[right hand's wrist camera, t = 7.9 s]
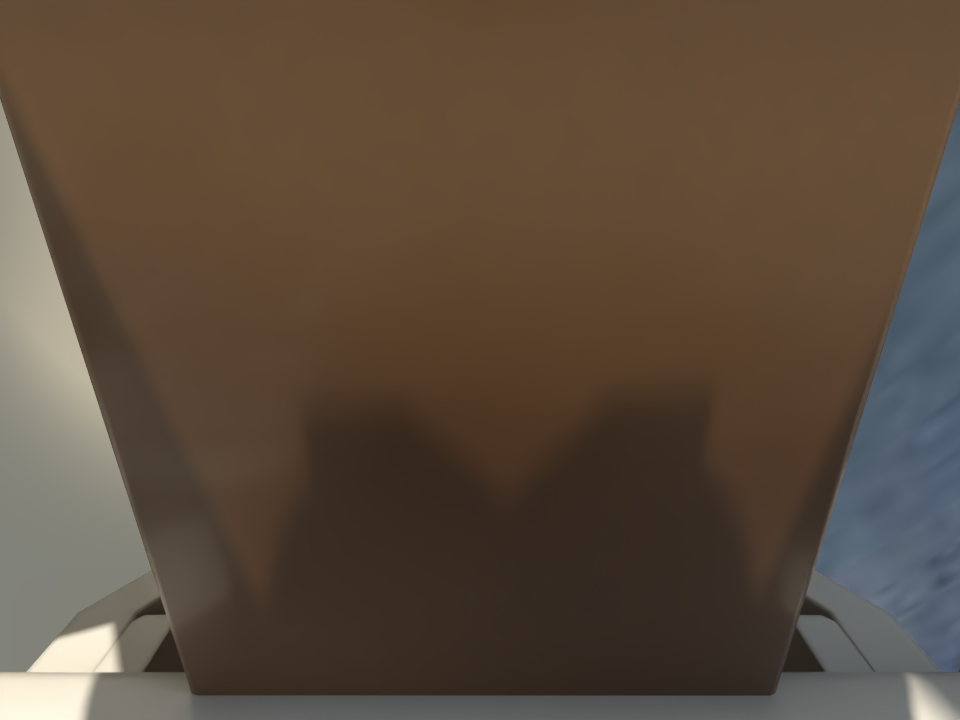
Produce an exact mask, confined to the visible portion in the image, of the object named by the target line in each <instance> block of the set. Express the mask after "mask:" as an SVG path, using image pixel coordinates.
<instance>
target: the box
mask: <svg viewBox="0 0 960 720" xmlns="http://www.w3.org/2000/svg"><path fill="white" fill-rule="evenodd" d="M0 99H1V102H2V106H3V109H4V112H5V115H6V118H7V121H8V124H9V127H10V130H11V133H12V137H13V140H14V143H15V146H16V149H17V152H18V155H19V158H20V162H21V165H22V168H23V171H24V174H25V177H26V180H27V183H28V186H29V190H30V193H31V196H32V199H33V202H34V205H35V208H36V211H37V214H38V218H39V221H40V224H41V227H42V230H43V233H44V236H45V239H46V242H47V246H48V249H49V252H50V255H51V258H52V261H53V264H54V267H55V270H56V274H57V277H58V280H59V283H60V286H61V289H62V292H63V295H64V298H65V302H66V305H67V308H68V311H69V314H70V317H71V320H72V323H73V326H74V329H75V333H76V336H77V339H78V342H79V345H80V348H81V351H82V354H83V357H84V361H85V363H86V367H87V370H88V373H89V376H90V379H91V382H92V385H93V389H94V391H95V395H96V398H97V401H98V404H99V407H100V410H101V413H102V417H103V420H104V423H105V426H106V429H107V432H108V435H109V438H110V441H111V444H112V448H113V451H114V454H115V457H116V460H117V463H118V466H119V469H120V472H121V476H122V479H123V482H124V485H125V488H126V491H127V494H128V497H129V500H130V504H131V507H132V510H133V513H134V516H135V519H136V522H137V525H138V528H139V531H140V535H141V538H142V541H143V544H144V547H145V550H146V553H147V556H148V559H149V563H150V566H151V569H152V572H153V575H154V578H155V581H156V584H157V588H158V591H159V594H160V597H161V600H162V603H163V606H164V609H165V612H166V615H167V619H168V622H169V625H170V628H171V631H172V634H173V637H174V640H175V643H176V647H177V650H178V653H179V656H180V659H181V662H182V665H183V668H184V671H185V675H186V678H187V681H188V684H189V687H190V690H191V693H193V694H195V695H404V696H770V695H772V694H775V692H776V689H777V686H778V683H779V679H780V676H781V673H782V670H783V667H784V663H785V660H786V657H787V654H788V651H789V647H790V644H791V641H792V638H793V634H794V631H795V628H796V625H797V622H798V618H799V615H800V612H801V609H802V606H803V602H804V599H805V596H806V593H807V590H808V586H809V583H810V580H811V577H812V573H813V570H814V567H815V564H816V561H817V557H818V554H819V551H820V548H821V545H822V541H823V538H824V535H825V532H826V529H827V525H828V522H829V519H830V516H831V512H832V509H833V506H834V503H835V500H836V496H837V493H838V490H839V487H840V484H841V480H842V477H843V474H844V471H845V468H846V464H847V461H848V458H849V455H850V451H851V448H852V445H853V442H854V439H855V435H856V432H857V429H858V426H859V423H860V419H861V416H862V413H863V410H864V407H865V403H866V400H867V397H868V394H869V390H870V387H871V384H872V381H873V378H874V374H875V371H876V368H877V365H878V362H879V358H880V355H881V352H882V349H883V346H884V342H885V339H886V336H887V333H888V329H889V326H890V323H891V320H892V317H893V313H894V310H895V307H896V304H897V301H898V297H899V294H900V291H901V288H902V284H903V281H904V278H905V275H906V272H907V268H908V265H909V262H910V259H911V256H912V252H913V249H914V246H915V243H916V240H917V236H918V233H919V230H920V227H921V223H922V220H923V217H924V214H925V211H926V207H927V204H928V201H929V198H930V195H931V191H932V188H933V185H934V182H935V179H936V175H937V172H938V169H939V166H940V162H941V159H942V156H943V153H944V150H945V146H946V143H947V140H948V137H949V134H950V130H951V127H952V124H953V121H954V118H955V114H956V111H957V108H958V105H959V101H960V0H0Z"/></svg>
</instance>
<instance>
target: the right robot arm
mask: <svg viewBox="0 0 960 720" xmlns="http://www.w3.org/2000/svg"><path fill="white" fill-rule="evenodd" d="M0 720H960V672H941V671H940V670H939V669H938V667H937V666H936V665H935V664H934V663H933V662H932V661H931V660H930V658H929V657H928V656H927V655H926V654H925V653H924V652H923V650H922V649H921V648H920V647H919V646H918V645H917V644H916V643H915V641H914V640H913V639H912V638H911V637H910V636H909V635H908V634H907V632H906V631H905V630H904V629H903V628H902V627H901V626H900V625H899V623H898V622H897V621H896V620H895V619H894V618H893V617H892V615H891V614H890V613H888V612H886V611H885V610H883V609H881V608H879V607H878V606H876V605H874V604H872V603H871V602H869V601H867V600H865V599H864V598H862V597H860V596H858V595H857V594H855V593H853V592H851V591H850V590H848V589H846V588H844V587H843V586H841V585H839V584H837V583H836V582H834V581H832V580H830V579H829V578H827V577H825V576H823V575H822V574H820V573H818V572H816V571H815V570H813V573H812V577H811V580H810V583H809V586H808V590H807V593H806V596H805V599H804V602H803V606H802V609H801V612H800V615H799V618H798V622H797V625H796V628H795V631H794V634H793V638H792V641H791V644H790V647H789V651H788V654H787V657H786V660H785V663H784V667H783V670H782V673H781V676H780V679H779V683H778V686H777V689H776V692H775V694H772V695H770V696H404V695H195V694H193V693H191V690H190V687H189V684H188V681H187V678H186V675H185V671H184V668H183V665H182V662H181V659H180V656H179V653H178V650H177V647H176V643H175V640H174V637H173V634H172V631H171V628H170V625H169V622H168V619H167V615H166V612H165V609H164V606H163V603H162V600H161V597H160V594H159V591H158V588H157V584H156V581H155V578H154V575H153V572H152V571H150V572H148V573H146V574H145V575H143V576H141V577H139V578H138V579H136V580H134V581H132V582H131V583H129V584H127V585H125V586H124V587H122V588H120V589H118V590H117V591H115V592H113V593H112V594H110V595H108V596H106V597H105V598H103V599H101V600H99V601H98V602H96V603H94V604H92V605H91V606H89V607H87V608H85V609H84V610H82V611H80V612H78V614H77V615H76V616H75V617H74V618H73V619H72V620H71V622H70V623H69V624H68V625H67V626H66V627H65V628H64V630H63V631H62V632H61V633H60V634H59V635H58V636H57V638H56V639H55V640H54V641H53V642H52V643H51V644H50V646H49V647H48V648H47V649H46V650H45V651H44V652H43V654H42V655H41V656H40V657H39V658H38V659H37V660H36V662H35V663H34V664H33V665H32V666H31V667H30V668H29V670H28V671H27V672H0Z"/></svg>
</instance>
